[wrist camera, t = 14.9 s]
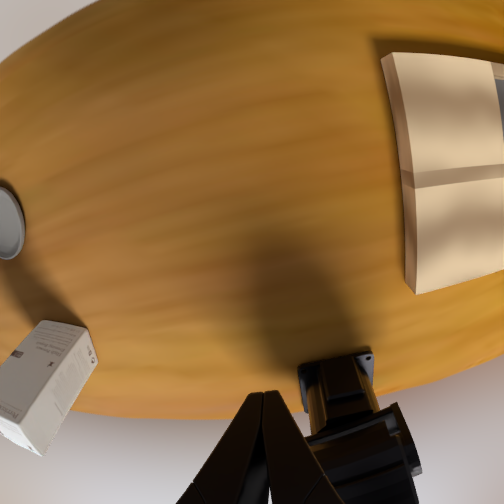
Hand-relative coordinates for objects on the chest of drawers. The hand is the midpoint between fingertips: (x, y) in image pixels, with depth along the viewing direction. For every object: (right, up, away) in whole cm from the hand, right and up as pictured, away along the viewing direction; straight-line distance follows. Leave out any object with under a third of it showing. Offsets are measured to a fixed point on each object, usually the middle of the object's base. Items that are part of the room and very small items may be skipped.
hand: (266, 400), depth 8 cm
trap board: (+21, +11, +9) cm, 26 cm away
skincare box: (-18, -4, +17) cm, 25 cm away
